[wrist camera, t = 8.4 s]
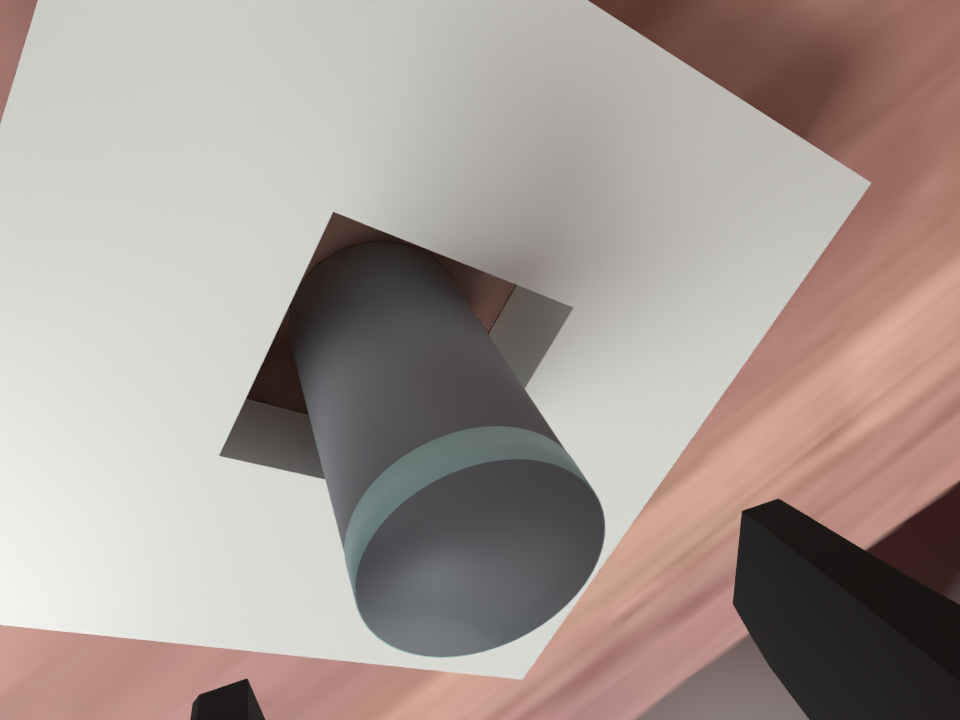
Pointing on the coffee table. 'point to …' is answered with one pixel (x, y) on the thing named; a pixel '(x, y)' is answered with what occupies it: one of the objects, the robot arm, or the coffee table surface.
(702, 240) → the socket block
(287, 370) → the coffee table surface
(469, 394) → the peg
